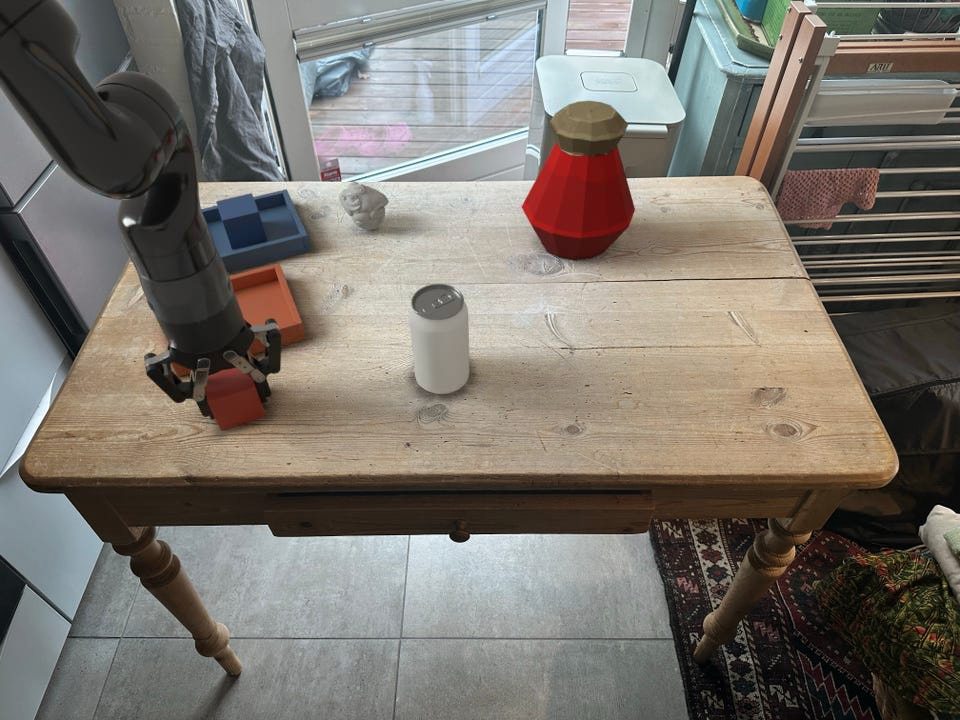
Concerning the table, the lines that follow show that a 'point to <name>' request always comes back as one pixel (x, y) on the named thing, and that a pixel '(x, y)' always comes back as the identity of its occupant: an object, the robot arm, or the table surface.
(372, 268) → the table surface
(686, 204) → the table surface
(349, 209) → the frog figurine
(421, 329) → the can
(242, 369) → the robot arm
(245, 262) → the blue tray
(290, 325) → the orange tray
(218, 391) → the red block
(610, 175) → the bottle
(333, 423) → the table surface
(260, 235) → the blue block
